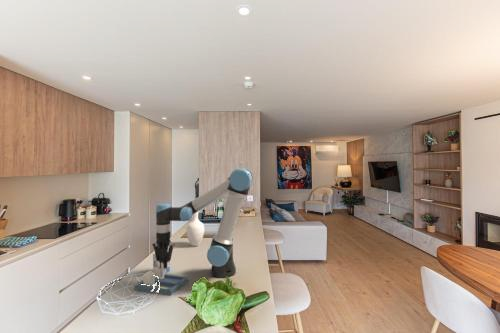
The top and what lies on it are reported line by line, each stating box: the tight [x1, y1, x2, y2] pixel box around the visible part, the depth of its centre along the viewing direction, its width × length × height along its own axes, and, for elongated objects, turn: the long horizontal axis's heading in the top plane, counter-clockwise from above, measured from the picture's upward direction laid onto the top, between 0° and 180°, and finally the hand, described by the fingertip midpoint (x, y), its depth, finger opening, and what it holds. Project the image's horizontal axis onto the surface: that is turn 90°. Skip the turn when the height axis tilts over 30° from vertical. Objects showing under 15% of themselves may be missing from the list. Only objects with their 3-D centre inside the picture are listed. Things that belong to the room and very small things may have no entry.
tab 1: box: [142, 270, 155, 285], centre depth 130 cm, size 4×4×7 cm
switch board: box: [133, 273, 189, 296], centre depth 133 cm, size 22×16×3 cm
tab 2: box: [154, 266, 164, 279], centre depth 138 cm, size 4×4×7 cm
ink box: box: [152, 253, 171, 273], centre depth 150 cm, size 9×5×12 cm, turn 141°
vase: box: [185, 211, 205, 247], centre depth 202 cm, size 14×14×28 cm
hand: (163, 273), depth 137 cm, fingers closed
